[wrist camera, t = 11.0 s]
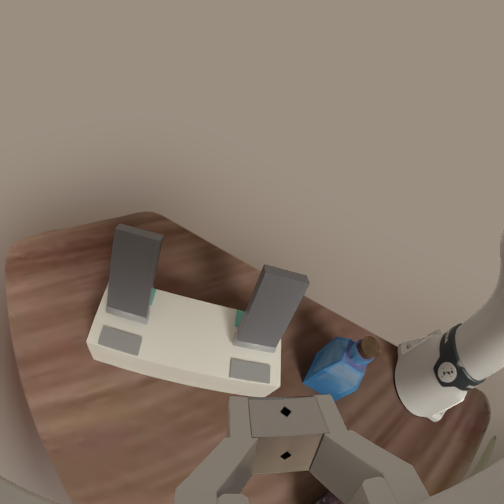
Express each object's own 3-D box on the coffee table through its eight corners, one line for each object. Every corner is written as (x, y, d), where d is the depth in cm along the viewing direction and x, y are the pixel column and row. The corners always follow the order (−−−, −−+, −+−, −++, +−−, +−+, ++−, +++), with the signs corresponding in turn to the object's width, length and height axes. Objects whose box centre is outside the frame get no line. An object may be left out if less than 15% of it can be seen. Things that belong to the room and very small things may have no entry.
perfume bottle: (316, 353, 46) (358, 317, 38) (345, 371, 45) (391, 340, 37) (302, 382, 42) (346, 352, 34) (333, 401, 41) (383, 375, 33)
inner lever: (271, 345, 38) (307, 275, 33) (272, 355, 36) (310, 284, 31) (232, 338, 37) (263, 263, 32) (232, 348, 35) (264, 272, 30)
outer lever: (148, 318, 35) (164, 235, 30) (145, 327, 33) (161, 241, 29) (109, 307, 34) (119, 222, 29) (105, 315, 32) (113, 228, 28)
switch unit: (265, 337, 45) (281, 318, 41) (263, 397, 39) (281, 386, 34) (113, 299, 41) (111, 274, 36) (93, 358, 34) (85, 340, 30)
